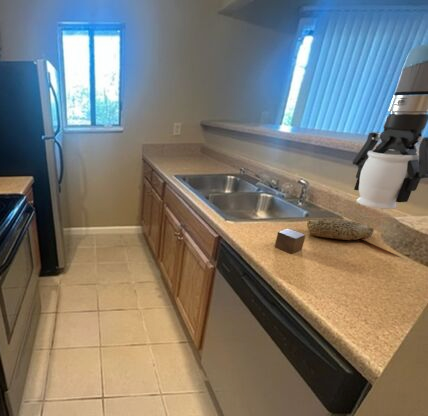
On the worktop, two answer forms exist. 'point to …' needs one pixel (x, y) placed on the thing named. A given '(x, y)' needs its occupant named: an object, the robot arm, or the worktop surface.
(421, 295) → the worktop surface
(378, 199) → the jar
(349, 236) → the rough brown rock
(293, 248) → the walnut block
